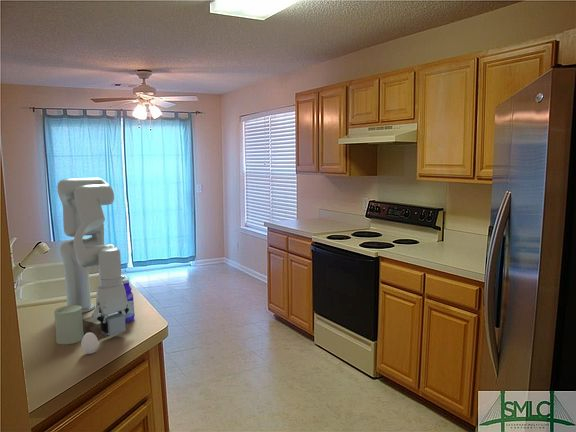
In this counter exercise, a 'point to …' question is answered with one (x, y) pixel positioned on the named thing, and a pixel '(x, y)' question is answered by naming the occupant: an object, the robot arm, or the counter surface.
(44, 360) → the counter surface
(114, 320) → the grey cube
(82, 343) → the egg
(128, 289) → the bottle
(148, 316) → the counter surface
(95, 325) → the walnut block
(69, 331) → the can
